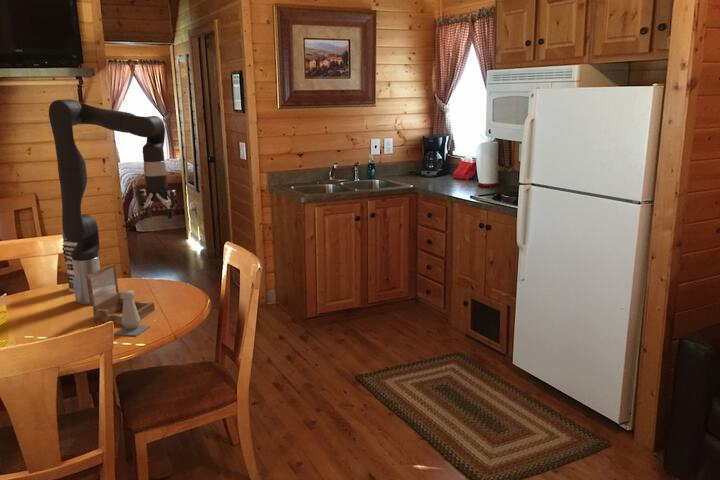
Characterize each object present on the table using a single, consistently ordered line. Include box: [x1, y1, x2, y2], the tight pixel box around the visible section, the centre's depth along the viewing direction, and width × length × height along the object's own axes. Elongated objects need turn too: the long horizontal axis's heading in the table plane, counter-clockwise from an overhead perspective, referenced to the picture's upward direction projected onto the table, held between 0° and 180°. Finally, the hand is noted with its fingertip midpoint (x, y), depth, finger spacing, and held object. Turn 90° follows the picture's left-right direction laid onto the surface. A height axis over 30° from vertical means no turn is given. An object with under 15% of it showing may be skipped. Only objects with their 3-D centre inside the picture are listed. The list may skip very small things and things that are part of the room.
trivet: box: [114, 324, 151, 338], centre depth 203 cm, size 8×8×1 cm
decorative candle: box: [61, 232, 77, 293], centre depth 244 cm, size 9×9×25 cm
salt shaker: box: [120, 289, 141, 330], centre depth 203 cm, size 6×6×13 cm
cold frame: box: [86, 263, 156, 326], centre depth 214 cm, size 15×15×17 cm
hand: (160, 218), depth 219 cm, fingers open, 8 cm apart
